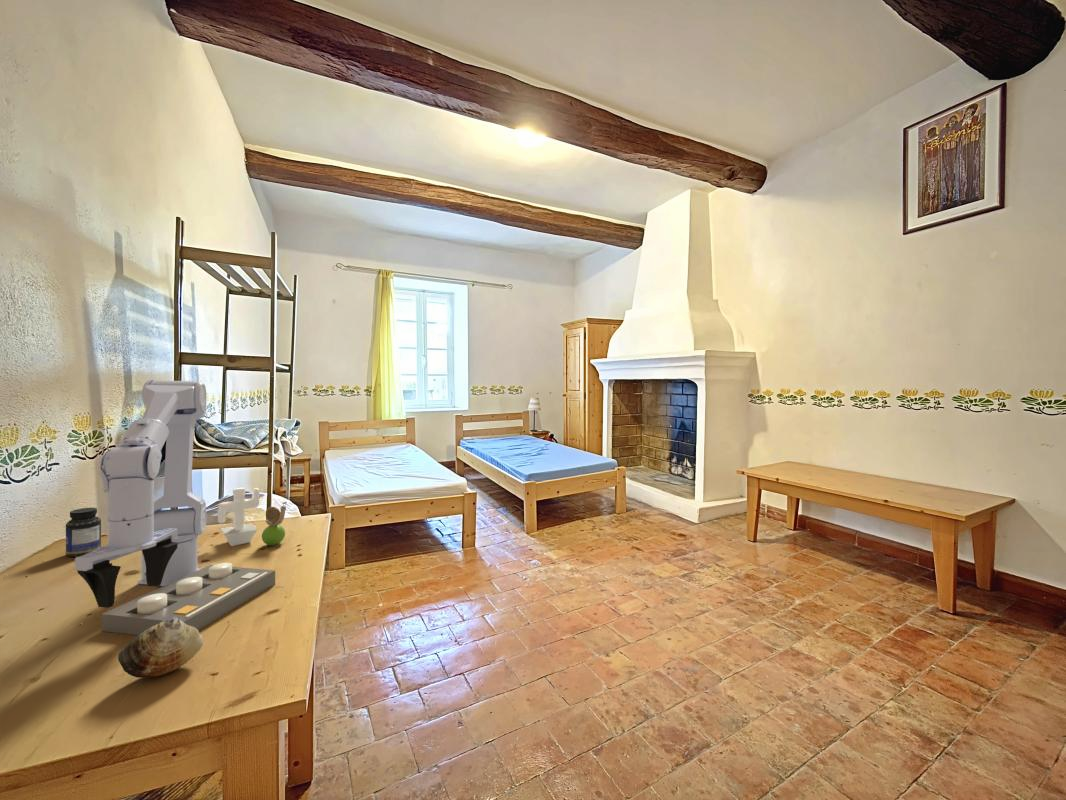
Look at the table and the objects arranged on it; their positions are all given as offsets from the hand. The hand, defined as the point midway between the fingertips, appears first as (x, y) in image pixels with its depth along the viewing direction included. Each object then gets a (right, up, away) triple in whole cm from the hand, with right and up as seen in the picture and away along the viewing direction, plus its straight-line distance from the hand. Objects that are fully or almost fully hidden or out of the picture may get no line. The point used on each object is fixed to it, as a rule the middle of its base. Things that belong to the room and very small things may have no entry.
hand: (131, 595), depth 72 cm
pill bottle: (-45, -6, +34) cm, 57 cm away
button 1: (0, -5, +4) cm, 6 cm away
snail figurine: (-1, -6, +42) cm, 43 cm away
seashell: (+14, -8, -9) cm, 18 cm away
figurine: (-12, -6, +44) cm, 46 cm away
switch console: (+3, -7, +10) cm, 13 cm away
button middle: (+1, -5, +11) cm, 12 cm away
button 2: (+2, -5, +17) cm, 18 cm away
